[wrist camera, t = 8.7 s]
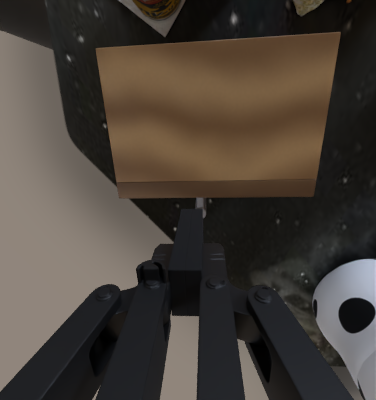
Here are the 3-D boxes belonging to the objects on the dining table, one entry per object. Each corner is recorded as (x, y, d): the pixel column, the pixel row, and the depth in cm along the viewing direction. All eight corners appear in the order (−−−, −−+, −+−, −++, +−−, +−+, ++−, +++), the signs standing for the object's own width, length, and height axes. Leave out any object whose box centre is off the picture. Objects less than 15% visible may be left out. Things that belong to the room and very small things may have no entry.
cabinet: (137, 70, 32) (95, 47, 20) (288, 61, 30) (341, 31, 18) (147, 169, 37) (118, 198, 25) (277, 166, 35) (313, 196, 23)
